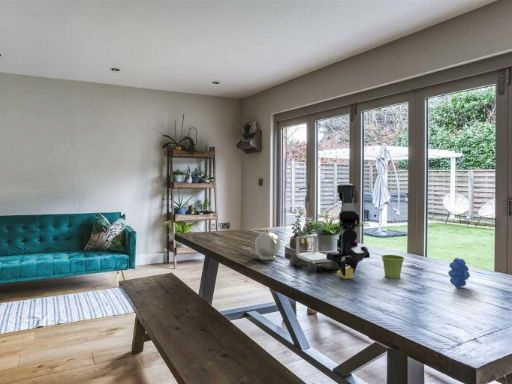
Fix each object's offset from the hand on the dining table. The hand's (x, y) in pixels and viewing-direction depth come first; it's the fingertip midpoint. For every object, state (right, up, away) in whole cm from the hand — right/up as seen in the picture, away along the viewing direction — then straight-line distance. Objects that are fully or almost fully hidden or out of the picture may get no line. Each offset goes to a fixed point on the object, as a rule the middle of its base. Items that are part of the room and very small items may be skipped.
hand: (348, 275), depth 159 cm
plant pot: (+19, -1, +1) cm, 19 cm away
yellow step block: (-1, -1, +2) cm, 3 cm away
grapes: (+39, -2, -17) cm, 42 cm away
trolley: (-11, 0, +19) cm, 22 cm away
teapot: (-33, 0, +36) cm, 49 cm away
